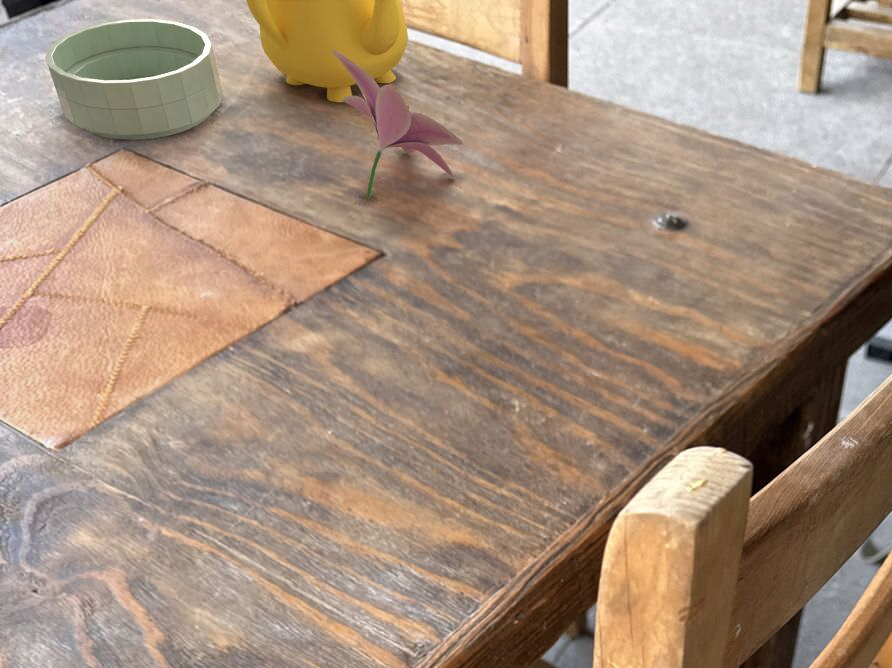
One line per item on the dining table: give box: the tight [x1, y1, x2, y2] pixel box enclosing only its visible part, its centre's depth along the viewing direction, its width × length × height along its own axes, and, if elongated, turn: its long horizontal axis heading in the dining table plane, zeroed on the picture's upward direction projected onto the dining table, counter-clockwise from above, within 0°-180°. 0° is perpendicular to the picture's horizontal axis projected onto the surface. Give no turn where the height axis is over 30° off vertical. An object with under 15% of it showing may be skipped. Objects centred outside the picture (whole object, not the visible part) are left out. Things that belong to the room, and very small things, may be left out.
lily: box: [331, 49, 464, 199], centre depth 96 cm, size 12×12×10 cm
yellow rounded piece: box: [245, 0, 409, 103], centre depth 107 cm, size 14×14×12 cm
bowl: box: [44, 18, 223, 141], centre depth 105 cm, size 14×14×5 cm
